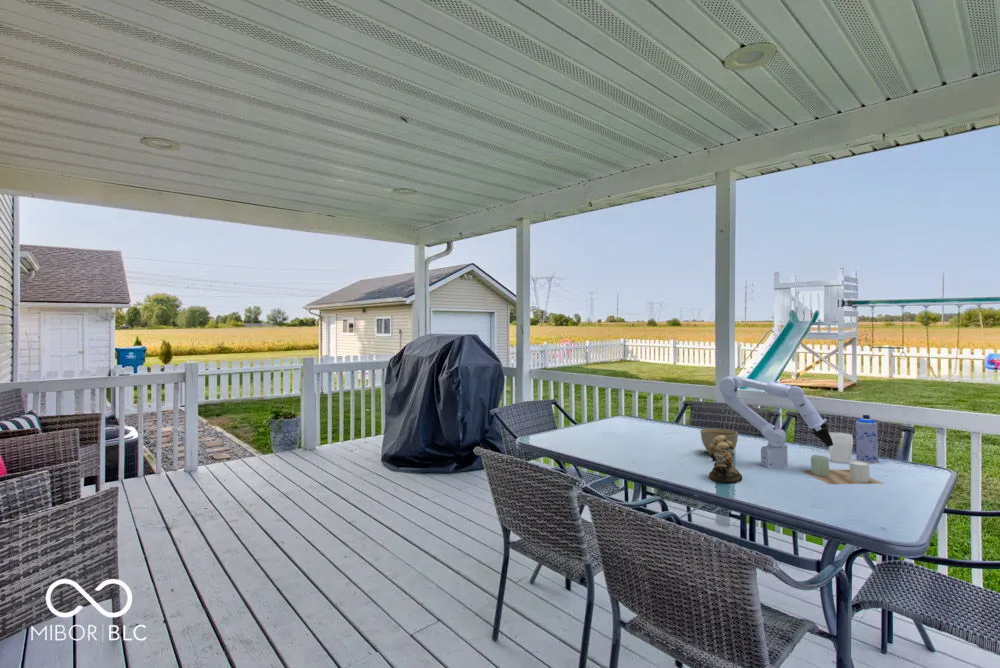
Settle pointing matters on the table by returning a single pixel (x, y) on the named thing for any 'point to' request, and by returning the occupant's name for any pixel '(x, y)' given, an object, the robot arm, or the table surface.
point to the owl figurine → (723, 461)
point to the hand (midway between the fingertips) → (830, 444)
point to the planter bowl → (711, 433)
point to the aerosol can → (867, 440)
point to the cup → (841, 447)
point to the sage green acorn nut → (819, 465)
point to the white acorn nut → (859, 471)
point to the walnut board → (839, 477)
